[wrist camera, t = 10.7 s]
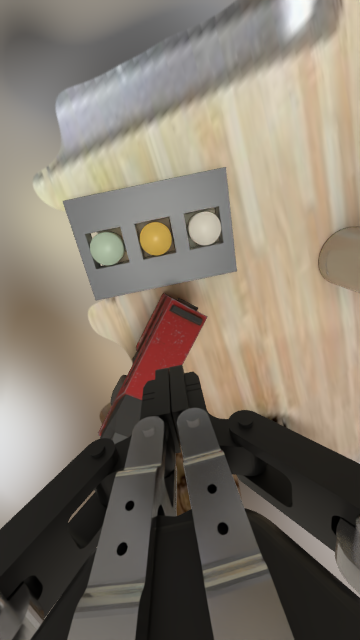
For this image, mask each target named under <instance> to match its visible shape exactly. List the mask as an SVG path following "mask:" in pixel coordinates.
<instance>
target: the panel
mask: <svg viewBox="0 0 360 640" xmlns="http://www.w3.org/2000/svg"><path fill="white" fill-rule="evenodd" d="M63 204H64V207H65V210H66V213H67V216H68V219H69V221H70V224H71V228H72V231H73V234H74V237H75V240H76V243H77V246H78V249H79V252H80V255H81V258H82V261H83V264H84V267H85V270H86V273H87V276H88V278H89V282H90V285H91V287H92V291H93V294H94V296H95V300H100V299H105V298H110V297H115V296H120V295H125V294H129V293H134V292H139V291H144V290H149V289H154V288H158V287H163V286H168V285H173V284H178V283H183V282H187V281H192V280H197V279H202V278H207V277H212V276H216V275H221V274H226V273H231V272H236V271H237V267H236V258H235V249H234V239H233V230H232V221H231V211H230V202H229V193H228V183H227V174H226V167H223V168H219V169H214V170H209V171H204V172H199V173H195V174H190V175H185V176H180V177H175V178H171V179H166V180H161V181H156V182H151V183H147V184H142V185H137V186H132V187H127V188H123V189H118V190H113V191H108V192H104V193H99V194H94V195H89V196H84V197H80V198H75V199H70V200H65V201H63ZM214 207H215V213H216V216H217V217H218V219H219V221H220V223H221V232H220V235H219V242H214V243H212V244H210V245H200V246H195V247H189V241H188V236H187V230H186V224H185V218H184V214H185V213H189V212H194V211H199V210H204V209H209V208H214ZM165 217H169V220H170V225H171V230H172V235H173V240H174V246H175V251H171V252H166V253H164V254H161V255H152V256H147V257H144V254H143V250H142V246H141V243H140V237H139V233H138V229H137V225H136V224H137V223H141V222H146V221H151V220H156V219H161V218H165ZM117 227H120V228H121V232H122V236H123V239H124V243H125V247H126V251H127V255H128V258H129V260H128V261H123V262H118V263H115V264H113V265H104V266H101V265H100V263H98V262H97V261H96V260H95V259H94V258H93V256H92V254H91V251H90V243H91V241H92V237H91V233H93V232H98V231H103V230H108V229H113V228H117Z"/></svg>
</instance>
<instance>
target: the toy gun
mask: <svg viewBox="0 0 360 640" xmlns="http://www.w3.org/2000/svg"><path fill="white" fill-rule="evenodd" d="M197 309H198V307H196V306H194V305H192V304H190V303H188V302H186V301H184V300H182V299H180V298H178V300H176V299H174V298H172V297H170V296H168V295H166V294H164V293H163V294H162V296H161V298H160V300H159V302H158V304H157V306H156V308H155V310H154V312H153V314H152V316H151V318H150V320H149V322H148V324H147V326H146V328H145V330H144V332H143V334H142V336H141V338H140V340H139V342H138V344H137V346H136V351H137V352H136V354H135V356H134V358H133V365H132V367H131V369H130V371H129V373H128V375H123V376H121V378H120V379H119V381H118V383H117V385H116V387H115V389H114V390H113V393H112V397H111V408H110V410H109V412H108V414H107V416H106V418H105V420H104V422H103V424H102V426H101V428H100V430H99V432H98V435H99V436H101V437H100V439H102V438H109V439H111V440H113V442H114V443H115V444H116V443H118V442H120V441H122V440H124V439H126V438H128V437H129V436H131V435H132V432H133V429H134V427H135V425H136V424H137V423H138V422H139V421H140V414H141V404H142V396H143V387H144V386H145V384H146V383H147V381H150V380H155V370H158V369H163V368H169V367H173V366H178V365H183V363H184V361H185V359H186V357H187V355H188V353H189V351H190V349H191V347H192V346H193V344H194V342H195V340H196V338H197V336H198V334H199V332H200V330H201V328H202V326H203V324H204V323H205V321H206V319H207V316H205V315H203V314H201V313H200V312H198V311H197Z"/></svg>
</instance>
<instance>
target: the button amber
mask: <svg viewBox="0 0 360 640" xmlns="http://www.w3.org/2000/svg"><path fill="white" fill-rule="evenodd" d="M171 242H172V237H171V233H170V231H169V229H168V228H167V227H166V226H165V225H164V224H162V223H159V222H152V223H149V224H147V225H146V226H145V227H144V228H143V229H142V231H141V233H140V243H141V246H142V248H143V249H144V250H145V251H146V252H147V253H149V254H151V255H161V254H164V253H165V252H166V251H167V250H168V249H169V248H170V246H171Z"/></svg>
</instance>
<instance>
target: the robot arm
mask: <svg viewBox="0 0 360 640" xmlns="http://www.w3.org/2000/svg"><path fill="white" fill-rule="evenodd" d="M319 269H320V272H321V274H322V275H323V277H324V278H325V279H326V280H327V281H329V282H331V283H334V284H336V285H339V286H342V287H345V288H347V289H350V290H353V291H356V292H358V293H360V227H349V228H345V229H342V230H340V231H338V232H336V233H335V234H333V235H332V236H331V237H330V238H329V239H328V240H327V242H326V243H325V244H324V246H323V248H322V250H321V253H320V256H319ZM180 445H181V449H182V453H183V458H184V461H183V463H184V469H185V475H186V480H187V486H188V492H189V497H190V503H191V508H192V509H191V510H189V511H187V512H185V513H183V514H181V515H179V516H176V489H177V468H176V456H175V453H179V452H181V449H180ZM232 474H236V475H237V477H238V478H239V480H241V481H242V482H243V483H244V484H246V485H247V486H248V487H250V488H251V489H252V490H253V491H255V492H256V493H257V494H259V495H260V496H261V497H263V498H264V499H265V500H267V501H268V502H269V503H271V504H272V505H273V506H275V507H276V508H277V509H279V510H280V511H281V512H283V513H284V514H285V515H286V516H288V517H289V518H290V519H292V520H293V521H295V522H296V523H297V524H299V525H300V526H301V527H302V528H304V529H305V530H306V531H308V532H309V533H310V534H312V535H313V536H314V537H316V538H317V539H318V540H320V541H321V542H322V543H324V544H325V545H326V546H328V547H329V548H330V549H331V550H333V551H334V552H335V559H336V563H337V565H338V568H339V570H340V572H341V573H342V575H343V576H344V578H345V579H346V581H347V582H348V583H349V584H350V585H351V586H352V587H353V588H354V589H355V590H356V591H357V592H358V593H359V594H360V464H359V463H357V462H355V461H353V460H351V459H349V458H347V457H345V456H343V455H341V454H339V453H337V452H335V451H333V450H330V449H328V448H326V447H324V446H322V445H320V444H318V443H316V442H314V441H312V440H310V439H308V438H306V437H304V436H302V435H300V434H298V433H296V432H294V431H292V430H290V429H288V428H286V427H284V426H282V425H280V424H278V423H276V422H274V421H272V420H269V419H267V418H265V417H263V416H261V415H259V414H257V413H255V412H253V411H249V410H241V411H237V412H235V413H233V414H232V415H231V416H230V418H229V419H219V418H216V417H213V416H212V415H210V414H209V413H208V411H207V409H206V405H205V401H204V397H203V393H202V389H201V385H200V381H199V377H198V375H196V374H195V373H194V372H189V373H184V370H183V366H182V365H178V366H173V367H169V368H163V369H158V370H155V380H150V381H147V383H146V384H145V386H144V387H143V396H142V404H141V414H140V421H139V422H138V423H137V424H136V425H135V427H134V429H133V432H132V435H131V436H129V437H128V438H126V439H124V440H122V441H120V442H118V443H116V444H115V443H114V442H113V440H111V439H109V438H102V439H98V440H96V441H94V442H92V443H91V444H90V445H88V446H87V447H86V448H85V449H84V450H83V451H82V452H81V453H80V454H79V455H78V456H77V457H76V458H75V459H74V460H73V461H72V462H70V464H68V465H67V466H66V467H65V468H64V469H63V470H62V471H61V472H60V473H59V474H58V475H57V476H56V477H55V478H54V479H53V480H52V481H51V482H49V483H48V484H47V485H46V486H45V487H44V488H43V489H42V490H41V491H40V492H39V493H38V494H37V495H36V496H35V497H34V498H33V499H32V500H31V501H30V502H29V503H28V504H26V505H25V506H24V507H23V508H22V509H21V510H20V511H19V512H18V513H17V514H16V515H15V516H14V517H13V518H12V519H11V520H10V521H9V522H8V523H6V524H5V525H4V527H2V528H1V529H0V640H360V598H359V597H358V596H357V595H356V594H355V593H354V592H352V591H351V590H350V589H349V588H348V587H347V586H345V585H344V584H343V583H342V582H341V581H340V580H338V579H337V578H336V577H335V576H334V575H333V574H331V573H330V572H329V571H328V570H327V569H326V568H325V567H323V566H322V565H321V564H320V563H319V562H318V561H316V560H315V559H314V558H313V557H312V556H310V555H309V554H308V553H307V552H306V551H305V550H304V549H303V548H301V547H300V546H299V545H298V544H297V543H296V542H295V541H293V540H292V539H291V538H290V537H289V536H288V535H286V534H285V533H284V532H283V531H282V530H281V529H279V528H278V527H277V526H276V525H275V524H274V523H272V522H271V521H270V520H268V519H267V518H266V517H264V516H262V515H261V514H258V513H257V512H255V511H252V510H249V509H245V508H244V506H243V504H242V501H241V498H240V495H239V493H238V490H237V487H236V484H235V482H234V479H233V476H232ZM93 490H95V493H94V494H93V495H92V496H91V497H90V499H89V500H88V501H87V502H86V503H85V504H84V506H83V507H82V508H81V509H80V510H79V511H78V513H77V514H76V515H75V516H74V517H73V518H72V519H71V520H70V522H69V523H68V521H69V519H70V517H71V515H72V514H73V513H74V512H75V511H76V510H77V508H78V507H79V506H80V505H81V504H82V503H83V502H84V501H85V499H86V498H87V497H88V496H89V495H90V494H91V492H92V491H93ZM96 547H97V548H96ZM60 596H61V597H60ZM57 600H58V601H57ZM55 603H56V604H55ZM54 604H55V605H54ZM53 606H54V607H53ZM52 607H53V608H52ZM51 608H52V609H51ZM50 610H51V611H50ZM49 611H50V612H49ZM48 613H49V614H48ZM47 614H48V615H47ZM46 615H47V617H46ZM45 617H46V618H45ZM44 618H45V619H44Z"/></svg>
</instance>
